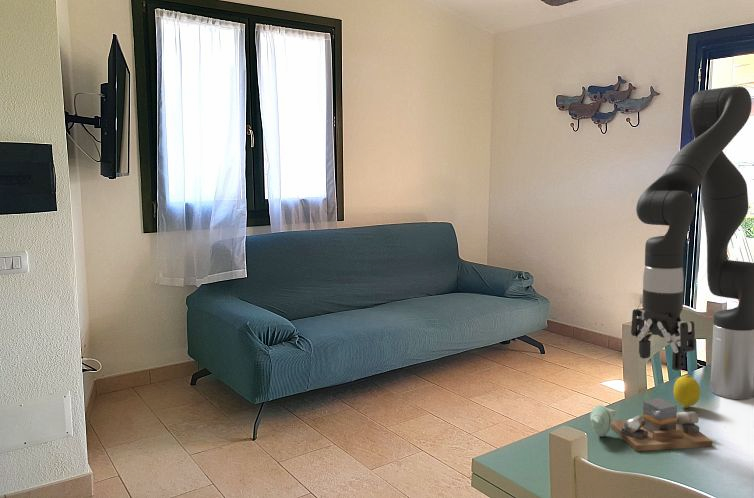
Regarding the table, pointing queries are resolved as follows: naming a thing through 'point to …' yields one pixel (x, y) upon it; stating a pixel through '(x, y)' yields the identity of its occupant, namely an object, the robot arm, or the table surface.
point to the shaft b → (635, 428)
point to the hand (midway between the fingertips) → (660, 363)
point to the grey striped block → (659, 415)
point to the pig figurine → (601, 419)
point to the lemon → (686, 391)
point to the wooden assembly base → (668, 435)
